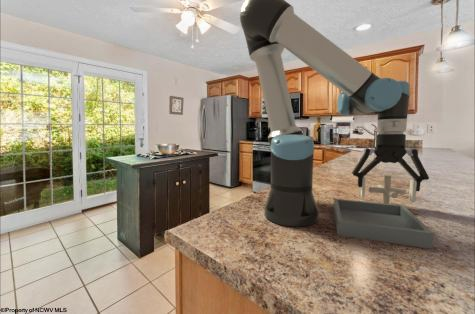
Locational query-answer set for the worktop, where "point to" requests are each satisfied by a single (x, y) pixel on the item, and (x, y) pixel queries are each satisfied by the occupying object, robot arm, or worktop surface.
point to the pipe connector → (387, 190)
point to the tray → (380, 223)
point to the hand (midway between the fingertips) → (386, 198)
